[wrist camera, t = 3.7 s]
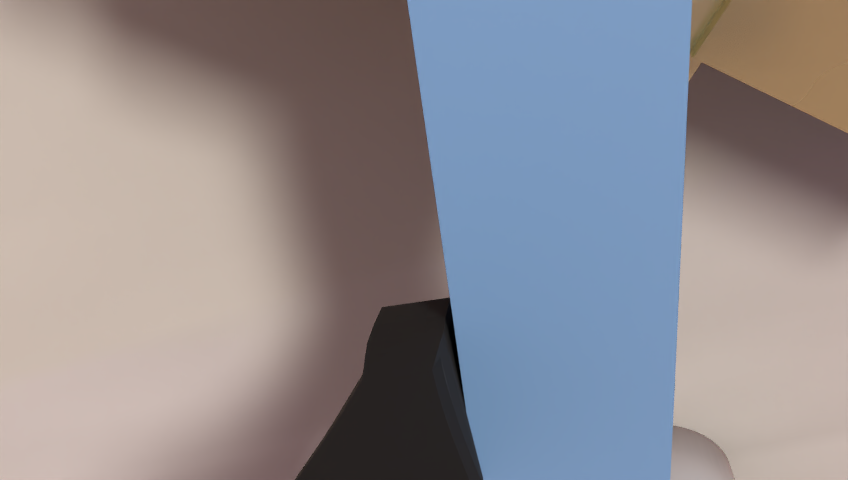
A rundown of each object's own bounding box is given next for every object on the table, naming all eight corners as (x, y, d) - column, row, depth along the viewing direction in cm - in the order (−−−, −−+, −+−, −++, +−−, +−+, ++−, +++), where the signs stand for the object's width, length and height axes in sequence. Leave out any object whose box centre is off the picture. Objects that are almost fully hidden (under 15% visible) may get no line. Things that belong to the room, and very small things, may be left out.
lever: (704, -674, 6) (808, -861, 4) (661, 489, 13) (692, 623, 11) (309, -588, 7) (234, -724, 5) (472, 496, 14) (470, 627, 12)
